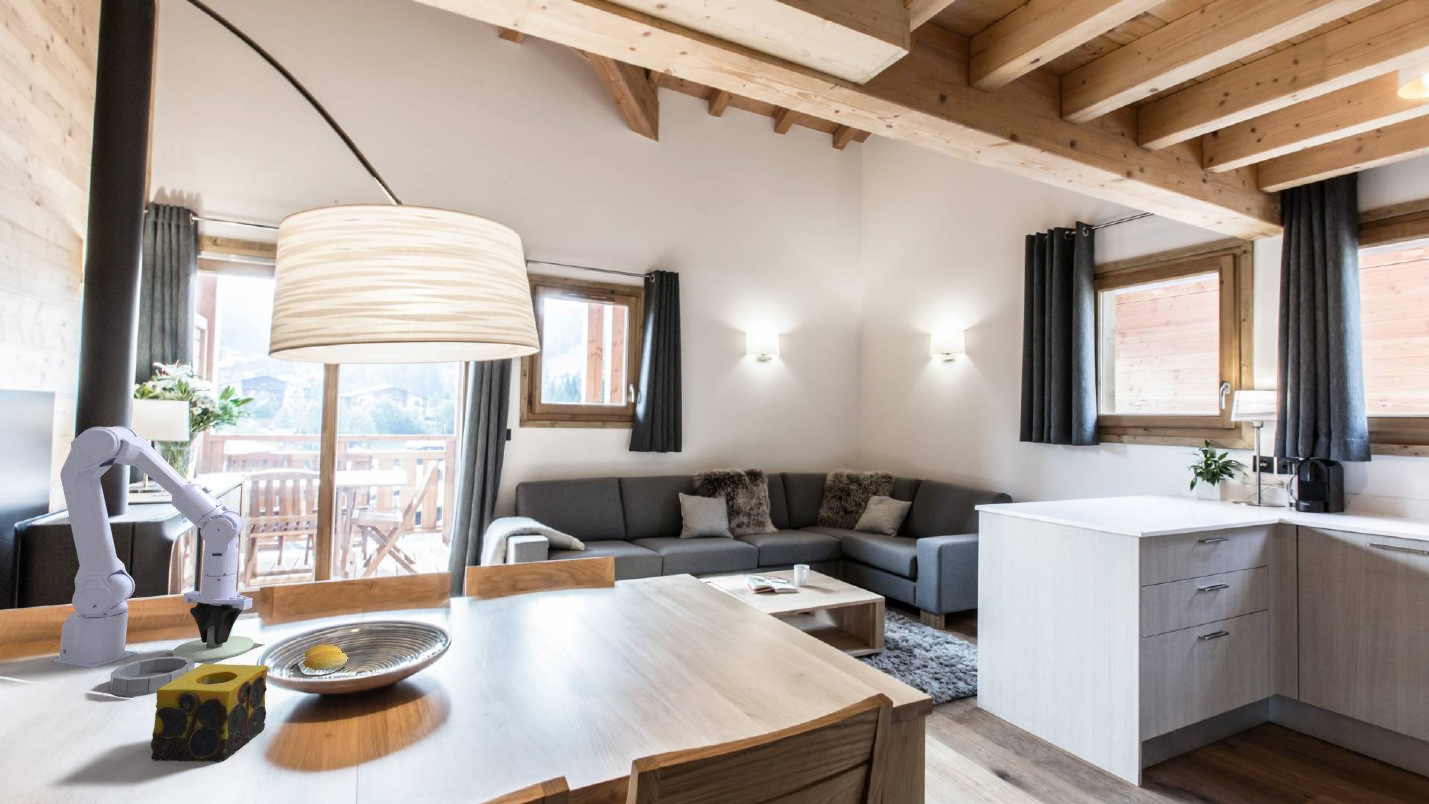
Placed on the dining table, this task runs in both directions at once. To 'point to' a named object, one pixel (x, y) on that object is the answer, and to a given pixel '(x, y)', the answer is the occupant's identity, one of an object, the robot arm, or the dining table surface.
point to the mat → (214, 660)
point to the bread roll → (324, 657)
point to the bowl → (148, 675)
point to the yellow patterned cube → (209, 712)
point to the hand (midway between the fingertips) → (214, 642)
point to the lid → (214, 648)
